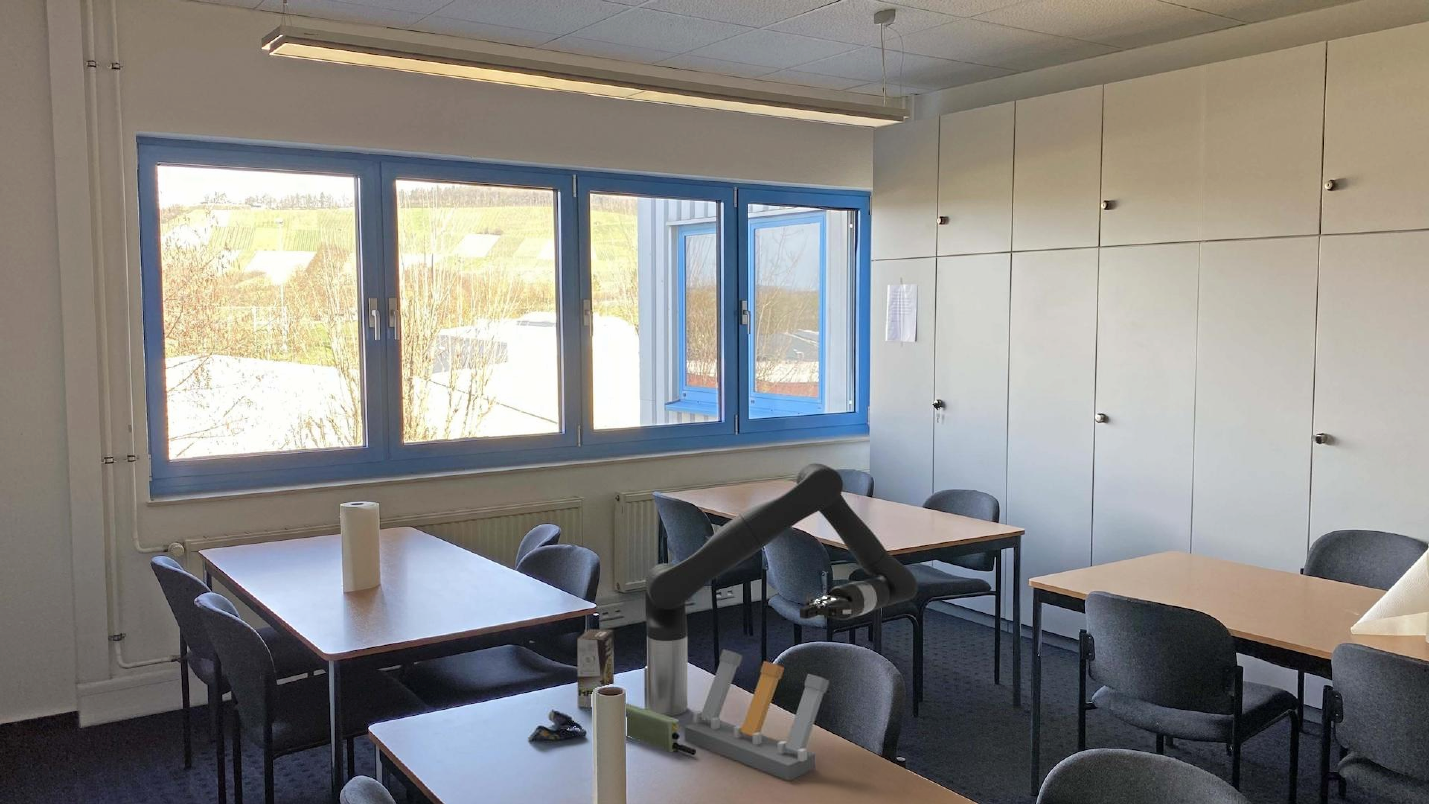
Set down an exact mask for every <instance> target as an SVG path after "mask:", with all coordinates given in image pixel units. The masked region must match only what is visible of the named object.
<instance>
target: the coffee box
mask: <svg viewBox="0 0 1429 804" xmlns="http://www.w3.org/2000/svg"><path fill="white" fill-rule="evenodd" d="M614 631H615V630H613V629H601V628H599V629H593V628H592V629H590V628H589V629H588V630H586V631H585V632H584V633H582V634H581V635H580V636H579V637H578V638H577V649H576V650H577V670H576V671H577V707H580V708H589V709H590V708H591V694H592V692H593V690H594V689H595V688H597V687H602V686H605V685H609V684H614V685H615V679H614V678H615V677H614V676H615V674H614V673H615V672H614V665H615V664H614V661H615V660H614V659H615V657H614V656H615V655H614V650H615V649H614V648H615V647H614Z"/></svg>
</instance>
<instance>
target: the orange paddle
mask: <svg viewBox="0 0 1429 804" xmlns="http://www.w3.org/2000/svg"><path fill="white" fill-rule="evenodd" d="M784 670H785V667H783V666H781V665H779V664H776V663H773V662H769V661H765V660H763V662H762V665H761V668H760V671H759V672H760V673H761V674H760V676H759V679H758V682H757V684H756V688H755V689H754V693H753V696H752V699H751V702H750V704H749V707H748V710H747V713H746V716H745V718H744V721H743V723H742V724H743V725H742V726H743V727H742V730H741V732H743V733H745V734H747V735H750V736H753V734H754V733H756V732H760V733H762V732H761V731H762V729H763V726H764V722H765V720H766V718H767V714H768V711H769V710H770V709H769V708H770V705H771V703H772V699H773V697H774V694H775V691H776V689H777V686H778V682H779V680H781V679H782V676H783V674H784V673H783V672H784Z"/></svg>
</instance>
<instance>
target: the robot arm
mask: <svg viewBox="0 0 1429 804" xmlns="http://www.w3.org/2000/svg"><path fill="white" fill-rule="evenodd" d="M796 477H797V478H796V485H794V487H791V489H789V490H788V491H786V492H785V493H784V494H781V495H780V496H779V497H776V498H773V499H771V500H769V501H766V502H763V503H761V504H758V505H756V506H754V507H752V508H749V509H747V510H745V511H743V512H742V513H740V514H737V516H735V517H734V518H732V519H731V520H730V521H728V522H727V523H725V524H723V525H722V526H721V527H720V528H719V529H717V531H715V533H713V535H712V536H710V538H708V539H707V541H706V542H705V543H704V544H703V545H702V547H700V548H699V549H698V550H697V551H696V552H694V553H693V554H692V555H690V556H689V557H687V558H686V559H683V560H682V561H680V562H679V563H677V564H675V565H674V564H672V563H666V562H663V563H659V564H656V566H655V565H654V567H652V568H651V569H650V571H649V572H648V574H647V575H646V578H645V587H644V592H645V594H644V595H645V596H644V597H645V622H646V625H645V626H646V652H647V653H646V666H644V669H643V670H644V673H643V675H644V677H643V679H644V681H643V682H644V690H643V691H644V695H643V696H644V709H646V710H649V711H652V712H656V713H659V714H662V715H665V716H668V717H673V716H678V715H682V714H684V713H686V712H687V711H688V709H689V708H688V621H687V612H686V602H688V600H689V599H691V598H692V597H693V596H694V595H696V594H697V593H698V592H699V591H700V590H701V589H703V588H704V587H705V586H706V585H708V584H709V583H710V582H712V581H713V580H714V579H716V578H718V577H719V576H721V575H723V574H724V573H727V571H729V570H731V569H732V568H734V567H735V566H737V565H739V564H740V563H742V562H743V561H745V560H747V559H748V558H750V557H752V556H753V555H755V554H756V553H757V552H759V551H760V550H762V549H763V548H764V547H766V546H767V545H768V544H770V543H771V542H773V541H774V540H775V539H778V538H779V537H780V536H782V535H783V534H784V533H785V532H787V531H788V530H790V529H791V528H792V527H793V526H795V525H797V524H798V523H799V522H801V521H802V520H805V519H806V518H808V517H810V516H812V515H814V514H815V513H817V512H819V513H820V514H821V515H822V517H823V518H825V519H826V521H827V522H828V523H829V524H830V526H831V527H832V528H833V529H834V531H835V532H836V533H837V535H838V536H839V538H840V539H841V541H842V542H843V543H844V545H845V547H846V548H847V550H848V551H849V552H850V554H851V555H852V557H853V558H854V559H855V560H856V561H857V563H858V564H859V566H860V567H861V568H862V570H863V571H864V573H866V574H867V575H869V576H879V577H876V578H868V579H864V580H861V581H860V580H859V581H853V582H848V583H845V584H844V583H843V584H841V585H837V586H834V587H833V588H831V589H830V591H829V592H828V594H827V595H823V596H821V597H818V598H816V599H814V597H812V596H810V595H807V596H806V597H805V603H804V604H805V605H804V606H803V607H800V608H799V618H800V619H804V620H808V619H811V618H822V617H823V618H824V619H835V618H836V619H837V620H839V621H840V620H841V621H846V620H849V619H852V618H857V617H858V616H863V615H865V614H868V613H869V612H873V611H876V610H878V609H881V608H883V607H884V608H885V607H888V606H892V605H896V604H898V603H902V602H906V601H909V600H911V599H914V598H915V597H916V595H917V593H918V589H919V587H918V583H917V582H918V581H917V579H916V577H915V575H914V574H913V573H912V571H910V569H908V568H907V567H906V566H905V565H904V564H902V563H901V562H900V561H899V560H898V559H896V558H895V557H894V556H892V555H891V554H890V553H889V552H888V551H887V549H886V548H885V547H884V545H883V544H882V542H880V540H879V538H878V537H877V536H876V535H875V533H874V532H873V531H872V530H871V529H870V528H869V527H868V525H867V524H866V523H865V522H864V521H863V520H862V518H860V517H859V516H858V514H857V513H856V512H855V511H854V510H853V509H852V507H851V506H850V505H849V504H848V502H847V501H846V500H845V499H844V496H843V495H842V492H843V487H844V482H843V478H842V476H841V474H840V473H839V472H838V471H837V470H836V469H834V468H832V467H830V466H828V465H825V464H824V463H823V464H821V463H814V462H813V463H809V464H807V465H804V466H803V467H802V468H801V469H800V471H799V472H798V474H797V476H796Z"/></svg>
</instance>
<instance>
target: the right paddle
mask: <svg viewBox="0 0 1429 804" xmlns="http://www.w3.org/2000/svg"><path fill="white" fill-rule="evenodd" d="M805 678H806V679H805V681H804V684H803V685H804V690H803V692H802V696H801V699H800V701H799V705H798V707H797V710H796V713H795V716H794V719H793V721H792V724H791V728H790V731H789V733H788V737H787V740H786V741H785V742H786V745H785V748H787V749H789V750H792V751H795V752H797V753H798V750H799V749H802V748H805V749H807V748H806V747H807V744H808V741H809V738H810V735H811V732H812V730H813V726H814V724H815V720H816V718H817V715H818V712H819V708H820V706H821V702H822V699H823V697H824V694H826V692H827V689H828V687H829V683H830V680H828V679H826V678H824V677H821V676H818V675H816V674H810V673H807V675H806V677H805Z"/></svg>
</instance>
